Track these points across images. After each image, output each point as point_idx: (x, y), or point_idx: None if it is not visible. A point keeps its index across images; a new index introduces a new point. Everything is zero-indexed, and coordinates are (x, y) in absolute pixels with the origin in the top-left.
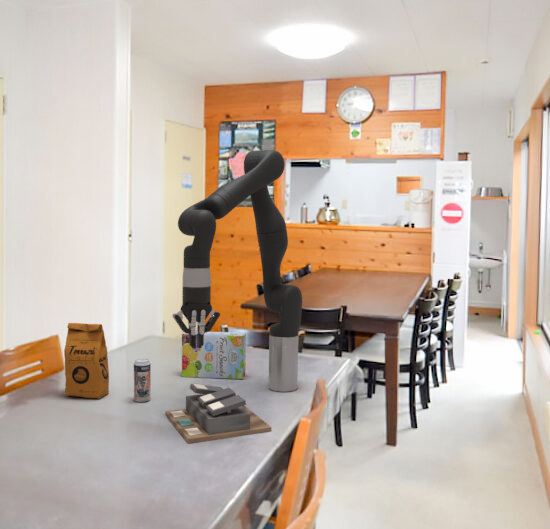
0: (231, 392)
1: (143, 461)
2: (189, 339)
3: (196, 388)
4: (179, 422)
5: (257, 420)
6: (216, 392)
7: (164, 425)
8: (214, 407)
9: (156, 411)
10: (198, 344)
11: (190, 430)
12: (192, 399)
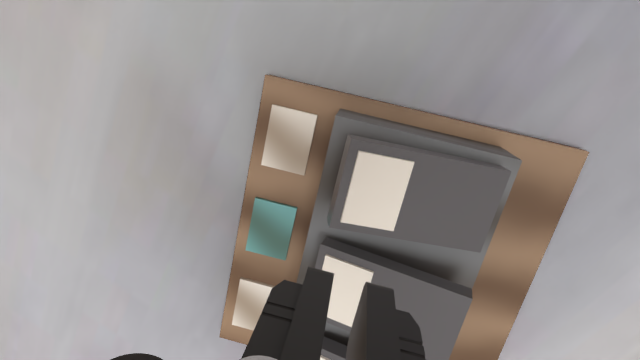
0: (436, 353)
1: (88, 348)
2: (255, 330)
3: (335, 221)
4: (252, 220)
5: (484, 345)
6: (401, 284)
7: (223, 169)
8: None
9: (258, 12)
10: (350, 350)
11: (250, 297)
12: (334, 176)
